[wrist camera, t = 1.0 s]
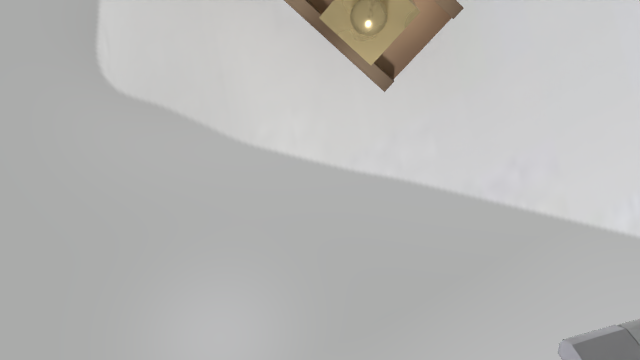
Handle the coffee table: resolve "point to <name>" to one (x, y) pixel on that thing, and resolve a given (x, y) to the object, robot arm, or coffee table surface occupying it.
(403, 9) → the brass rider
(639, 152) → the coffee table surface
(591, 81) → the coffee table surface
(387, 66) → the balance beam
